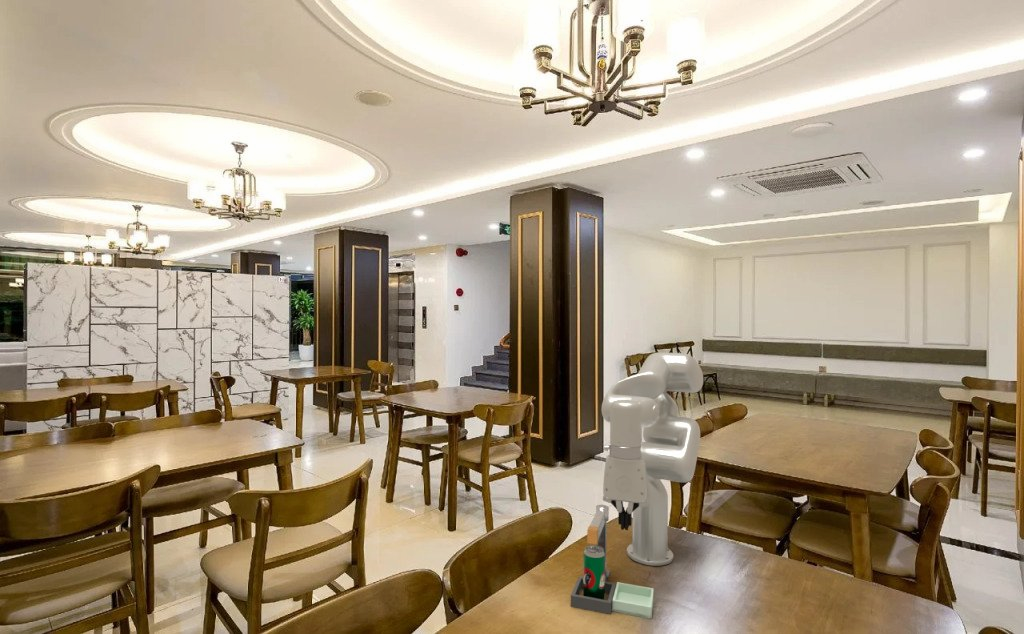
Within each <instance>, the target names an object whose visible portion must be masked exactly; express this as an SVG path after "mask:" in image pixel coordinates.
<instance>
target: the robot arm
mask: <svg viewBox="0 0 1024 634" xmlns="http://www.w3.org/2000/svg"><path fill="white" fill-rule="evenodd" d="M703 385H704V374H703V370H702V368H701V366H700V365H699V363H698V361H697V360H696V359H695V358H694V357H693V356H692V355H690V354H688V353H681V352H663V351H662V352H655V353H651V354H650V355H648V356H647V358H646V359H645V360H644V362H643V364H642V366H641V367H640V369H639V370H638V373H636V374H633V375H631V376H627V377H626V378H623V379H621V380H619V381H616V382H615V383H613V384H612V385H611V386H610V388H609V389H608V391H607V392H606V394H605V396H604V398H603V400H602V404H601V415H602V418H603V419H604V420H605V421H606V422H608V423H609V424H610V425H609V443H608V444H604V445H603V451H605V452H608V455H607V456H606V458H605V461H604V462H605V463H604V470H603V483H602V484H603V485H602V487H603V488H602V492H603V496H602V501H603V502H606V503H608V504H611V505H612V506H613V508H615V509H616V511H617V513H618V517H617V518H618V523H617V524H618V525H620V530H623V531H624V530H625V531H629V527H632V543H631V544H629V545H628V546H627V547H626V554H627V556H628V557H629V558H630V559H631V560H632V561H635V562H637V563H639V564H641V565H646V566H652V567H653V566H654V567H655V566H656V567H657V566H658V567H659V566H660V567H661V566H666V565H669V564H671V563H672V562H673V560H674V553H673V552H672V550H671V549H669V547H668V543H669V541H668V538H669V537H668V536H669V535H668V532H669V531H668V530H669V529H668V528H669V527H668V524H669V522H668V521H669V519H668V517H669V512H668V511H669V505H668V504H669V496H668V491H667V489H666V487H665V485H664V484H663V482H662V481H661V480H663V481H671V482H677V483H688V482H691V480H692V479H693V477H694V474H695V471H696V466H697V460H698V454H699V449H700V443H701V430H700V429H701V428H700V425H699V423H698V422H697V421H696V420H695V419H693V418H691V417H686V416H678V415H679V406H678V404H677V402H676V401H675V399H673V398H672V396H671V395H670V394H669V393H667V392H677V393H678V392H679V393H691V394H694V393H697V392H699V391H701V390H702V388H703ZM642 429H643V430H642ZM642 438H643V439H642ZM642 440H644V441H642ZM624 502H625V503H627V506H626V509H625V507H624Z"/></svg>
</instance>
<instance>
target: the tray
mask: <svg viewBox="0 0 1024 634" xmlns="http://www.w3.org/2000/svg"><path fill="white" fill-rule="evenodd" d="M654 593H655V592H654V587H647V586H642V585H636V584H630V583H625V582H619V581H617V582H616V589H615V593H614V596H613V603H612V611H611V612H614V613H618V614H625V615H630V616H634V617H639V618H644V619H649V620H651V619H652V617H653V610H654V609H653V608H654V607H653V606H654V598H655V597H654Z"/></svg>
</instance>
